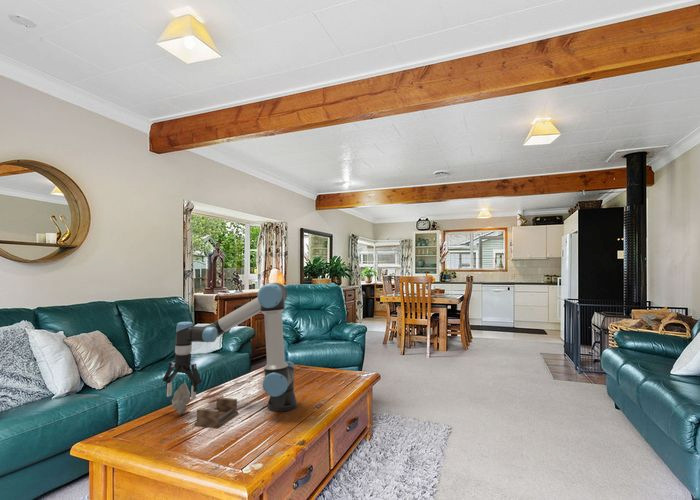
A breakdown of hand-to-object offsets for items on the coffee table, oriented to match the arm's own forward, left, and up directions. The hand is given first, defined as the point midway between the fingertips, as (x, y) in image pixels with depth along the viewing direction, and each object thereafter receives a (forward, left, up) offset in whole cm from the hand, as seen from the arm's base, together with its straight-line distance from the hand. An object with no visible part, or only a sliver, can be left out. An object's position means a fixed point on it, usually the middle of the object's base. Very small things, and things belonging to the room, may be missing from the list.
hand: (181, 397), depth 188 cm
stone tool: (0, 0, -9) cm, 9 cm away
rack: (-21, +2, -8) cm, 23 cm away
